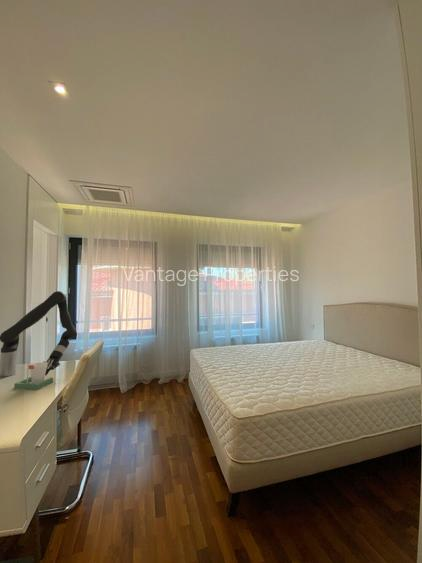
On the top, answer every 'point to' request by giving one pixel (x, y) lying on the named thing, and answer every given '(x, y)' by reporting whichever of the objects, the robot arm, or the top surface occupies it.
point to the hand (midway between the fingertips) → (44, 374)
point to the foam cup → (38, 372)
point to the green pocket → (26, 382)
